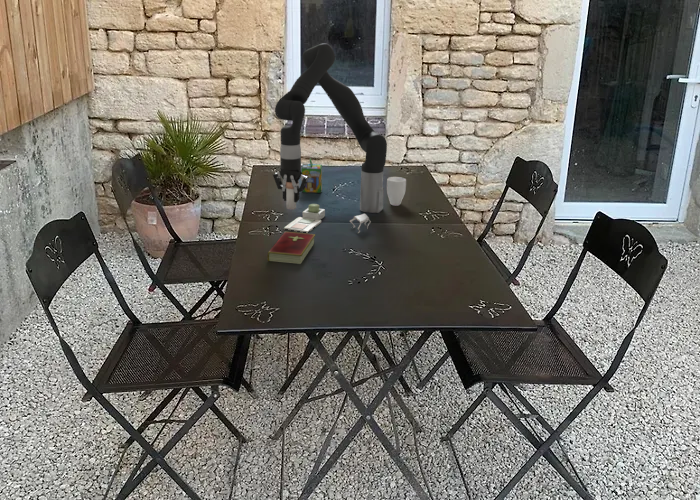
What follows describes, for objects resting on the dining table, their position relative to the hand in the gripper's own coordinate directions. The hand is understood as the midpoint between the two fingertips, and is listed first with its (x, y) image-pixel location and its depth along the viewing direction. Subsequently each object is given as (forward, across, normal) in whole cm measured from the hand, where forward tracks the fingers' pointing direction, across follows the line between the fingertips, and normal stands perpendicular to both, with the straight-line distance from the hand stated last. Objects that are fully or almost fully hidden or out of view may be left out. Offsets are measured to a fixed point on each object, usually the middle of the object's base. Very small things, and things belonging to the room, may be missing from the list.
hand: (291, 200), depth 249 cm
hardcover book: (+14, -7, +15) cm, 22 cm away
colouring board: (+14, 0, -12) cm, 18 cm away
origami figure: (+14, -22, -18) cm, 31 cm away
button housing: (+14, 0, -23) cm, 27 cm away
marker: (+3, 0, 0) cm, 3 cm away
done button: (+12, 0, -23) cm, 26 cm away
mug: (+15, -25, -57) cm, 64 cm away
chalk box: (+14, +16, -59) cm, 63 cm away
